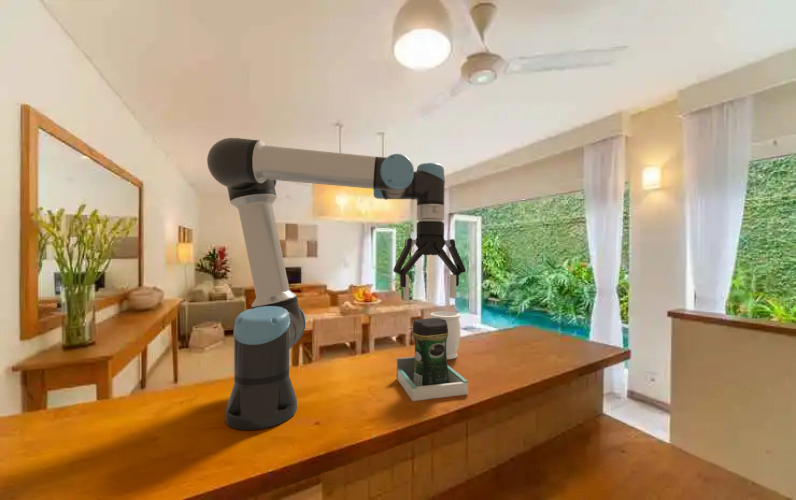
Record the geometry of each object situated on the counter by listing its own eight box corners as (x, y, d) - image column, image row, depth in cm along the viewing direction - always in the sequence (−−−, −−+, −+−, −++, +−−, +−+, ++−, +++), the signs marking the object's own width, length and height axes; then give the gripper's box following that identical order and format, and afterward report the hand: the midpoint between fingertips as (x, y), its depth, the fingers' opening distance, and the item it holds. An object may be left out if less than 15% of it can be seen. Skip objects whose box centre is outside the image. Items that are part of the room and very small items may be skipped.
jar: (464, 354, 121) (464, 312, 121) (453, 362, 112) (453, 317, 112) (437, 350, 127) (437, 310, 127) (424, 357, 118) (424, 314, 118)
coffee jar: (438, 378, 99) (438, 314, 99) (453, 388, 91) (453, 319, 91) (408, 383, 95) (408, 317, 95) (421, 394, 87) (421, 322, 87)
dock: (412, 401, 84) (412, 376, 84) (396, 378, 98) (396, 358, 98) (467, 394, 88) (467, 371, 88) (444, 373, 102) (444, 354, 102)
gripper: (389, 218, 86) (388, 302, 86) (478, 221, 93) (477, 299, 93) (383, 221, 93) (382, 298, 93) (465, 223, 100) (465, 295, 100)
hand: (429, 298), depth 93 cm, fingers open, 13 cm apart
